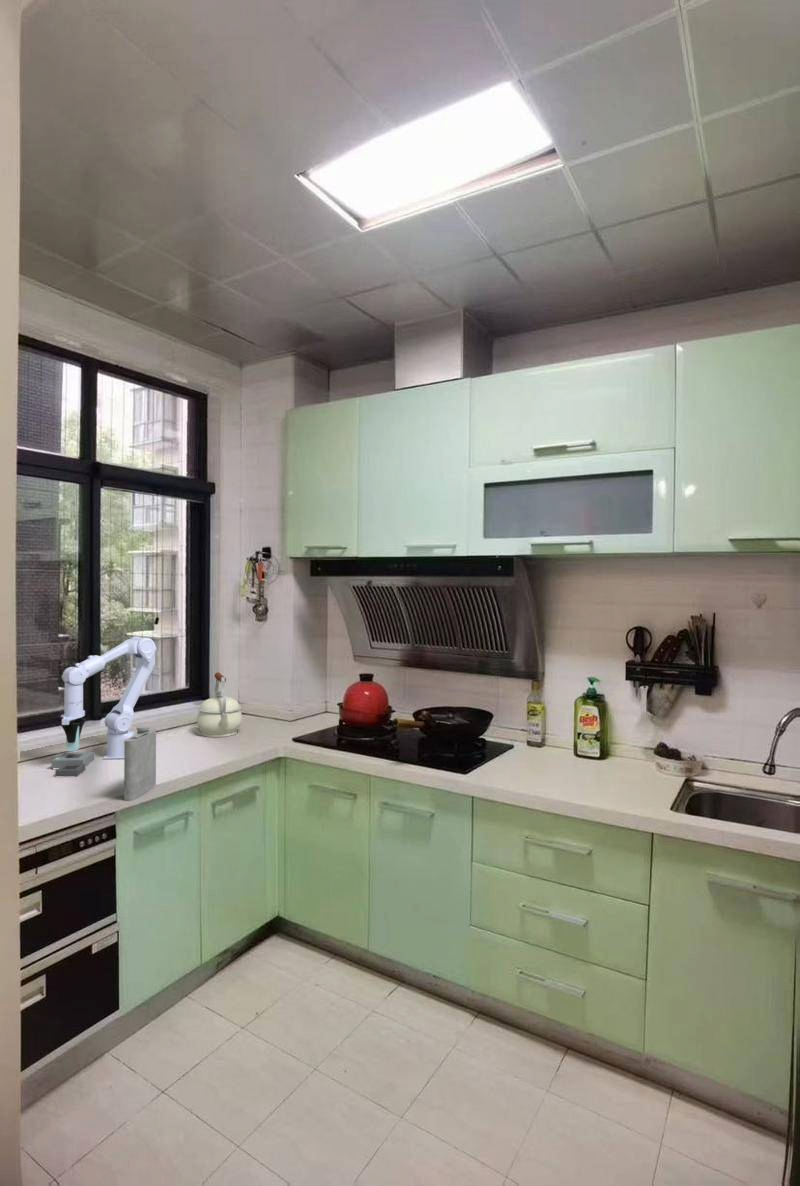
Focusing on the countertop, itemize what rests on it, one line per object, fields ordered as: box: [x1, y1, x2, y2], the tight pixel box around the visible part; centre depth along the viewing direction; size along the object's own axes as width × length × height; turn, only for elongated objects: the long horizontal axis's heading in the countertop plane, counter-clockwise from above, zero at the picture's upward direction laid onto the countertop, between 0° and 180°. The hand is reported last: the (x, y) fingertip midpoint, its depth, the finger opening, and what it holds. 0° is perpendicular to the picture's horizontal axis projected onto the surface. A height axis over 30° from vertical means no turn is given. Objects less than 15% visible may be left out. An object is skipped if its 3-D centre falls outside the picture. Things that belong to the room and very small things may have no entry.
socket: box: [51, 751, 95, 769], centre depth 216 cm, size 10×10×3 cm
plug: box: [65, 726, 80, 752], centre depth 216 cm, size 3×3×9 cm
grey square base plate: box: [54, 764, 87, 777], centre depth 206 cm, size 7×7×2 cm
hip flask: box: [123, 725, 157, 802], centre depth 189 cm, size 16×4×20 cm, turn 176°
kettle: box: [196, 671, 243, 738], centre depth 261 cm, size 25×18×25 cm
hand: (73, 741), depth 216 cm, fingers closed on plug, 3 cm apart
